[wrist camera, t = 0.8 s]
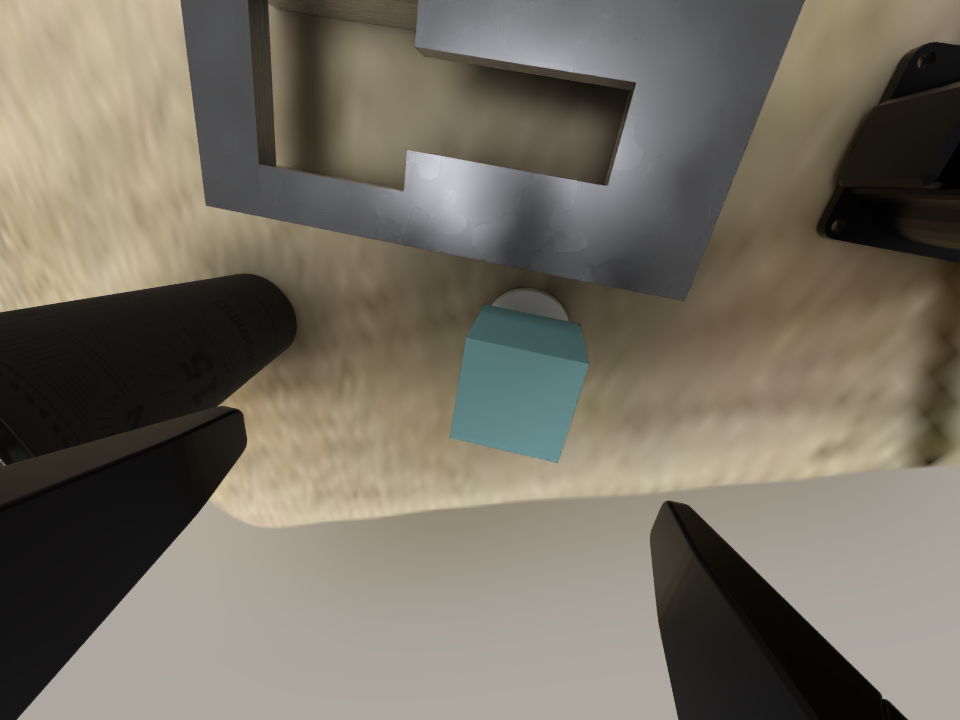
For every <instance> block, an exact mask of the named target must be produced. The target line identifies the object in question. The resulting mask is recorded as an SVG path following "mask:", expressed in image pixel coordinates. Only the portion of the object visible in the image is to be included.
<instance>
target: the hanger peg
mask: <svg viewBox="0 0 960 720" xmlns="http://www.w3.org/2000/svg"><path fill="white" fill-rule="evenodd" d="M588 366H589V361H588V357H587V352H586V348H585V344H584V339H583V335H582V330H581V326H580V324H578V323H573V322H569V320H568V316H567V313H566V311H565V309H564V307H563V306H562V305H561V303H560V302H559V301H558V300H557V299H556V298H555V297H553V296H552V295H550V294H549V293H547V292H545V291H542V290H540V289H536V288H517V289H513V290H510V291H508V292H506V293H504V294H502V295H501V296H499V297H498V298H497V299H496V300H495V301H494V302H493V303H492V304H491V305H487V304H484V305H483V307H482V309H481V311H480V313H479V314H478V316H477V318H476V320H475V322H474V324H473V326H472V327H471V329H470V331H469V333H468V335H467V337H466V341H465V347H464V353H463V360H462V366H461V372H460V378H459V384H458V390H457V397H456V403H455V409H454V415H453V421H452V427H451V434H450V438H453V439H458V440H462V441H466V442H470V443H475V444H479V445H483V446H487V447H492V448H496V449H500V450H504V451H509V452H513V453H517V454H521V455H526V456H530V457H534V458H538V459H543V460H547V461H551V462H555V463H558V461H559V458H560V455H561V452H562V449H563V445H564V442H565V439H566V436H567V433H568V430H569V426H570V423H571V420H572V417H573V414H574V411H575V407H576V404H577V401H578V398H579V395H580V392H581V389H582V385H583V382H584V379H585V376H586V373H587V370H588Z"/></svg>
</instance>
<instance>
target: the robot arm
mask: <svg viewBox="0 0 960 720" xmlns="http://www.w3.org/2000/svg"><path fill="white" fill-rule="evenodd" d="M921 55H924V56H925V58H926V62H925V65H924V66H923V67H922V69H920V68H919V67H918V64H917V63H918V60H919V58H920V57H921ZM839 182H840V184H839V186H838V188H837V190H836V192H835V194H834V196H833V198H832V200H831V202H830V204H829V206H828V208H827V210H826V212H825V213H824V215H823V217H822V219H821V221H820V223H819V227H818V231H819V234H820V235H821V236H823V237H825V238H829V239H835V240H840V241H846V242H851V243H856V244H862V245H867V246H873V247H878V248H884V249H889V250H895V251H900V252H906V253H911V254H916V255H922V256H927V257H933V258H938V259H944V260H949V261H955V262H960V46H959V45H952V44H946V43H939V42H932V43H927V44H925V45H922V46H919V47H917V48H915V49H913V50H911V51H910V52H909V53H908V54H907V55H906V56H905V57H904V59H903V60H902V62H901V64H900V66H899V68H898V70H897V72H896V74H895V76H894V78H893V80H892V82H891V84H890V86H889V88H888V89H887V91H886V93H885V95H884V97H883V99H882V101H881V103H880V105H878V106H877V107H875V108H874V110H873V112H872V114H871V116H870V118H869V119H868V121H867V123H866V125H865V127H864V129H863V131H862V133H861V135H860V137H859V139H858V141H857V143H856V145H855V147H854V149H853V151H852V153H851V155H850V157H849V159H848V161H847V163H846V165H845V167H844V169H843V171H842V173H841V175H840V177H839ZM837 220H839V223H840V224H839V227H838V228H837V229H836V230H835V231H833V232H832V229H831V227H832V224H833V223H834V222H835V221H837ZM246 445H247V435H246V429H245V422H244V416H243V413H242V412H241V411H240V410H239V409H235V408H230V407H226V406H219V407H215V408H212V409H208V410H204V411H201V412H197V413H194V414H190V415H186V416H183V417H179V418H176V419H172V420H168V421H165V422H161V423H158V424H154V425H150V426H147V427H143V428H140V429H136V430H132V431H129V432H125V433H122V434H118V435H114V436H111V437H107V438H104V439H100V440H96V441H93V442H89V443H86V444H82V445H79V446H75V447H71V448H68V449H64V450H61V451H57V452H53V453H50V454H46V455H43V456H39V457H35V458H32V459H28V460H25V461H21V462H17V463H14V464H10V465H7V466H3V467H0V720H17V719H18V718H19V717H20V715H21V714H22V713H23V712H24V711H25V710H26V709H27V707H28V706H29V705H30V704H31V703H32V702H33V701H34V700H35V698H36V697H37V696H38V695H39V694H40V693H41V692H42V690H43V689H44V688H45V687H46V686H47V685H48V683H49V682H50V681H51V680H52V679H53V678H54V677H55V676H56V675H57V673H58V672H59V671H60V670H61V669H62V668H63V667H64V665H65V664H66V663H67V662H68V661H69V660H70V658H71V657H72V656H73V655H74V654H75V653H76V652H77V651H78V649H79V648H80V647H81V646H82V645H83V644H84V643H85V642H86V640H87V639H88V638H89V637H90V636H91V635H92V634H93V632H94V631H95V630H96V629H97V627H99V626H100V624H101V623H102V622H103V621H104V620H105V619H106V618H107V616H108V615H109V614H110V613H111V612H112V611H113V610H114V609H115V607H116V606H117V605H118V604H119V603H120V601H122V599H123V598H124V597H125V596H126V595H127V593H129V591H130V590H131V589H132V588H133V587H134V586H135V584H137V582H138V581H139V580H140V579H141V578H142V577H143V576H144V574H145V573H146V572H147V571H148V570H149V569H150V568H151V566H152V565H153V564H154V563H155V562H156V561H157V560H158V558H159V557H160V556H161V555H162V554H163V552H165V550H166V549H167V548H168V547H169V546H170V545H171V544H172V542H173V541H174V540H175V539H176V538H177V537H178V536H179V534H180V533H181V532H182V531H183V530H184V529H185V528H186V527H187V525H188V524H189V523H190V522H191V521H192V519H193V518H194V517H195V516H196V515H197V514H198V513H199V511H200V510H201V509H202V507H203V506H204V505H205V504H206V502H207V501H208V500H209V498H210V497H211V496H212V494H213V493H214V492H215V490H216V489H217V487H218V486H219V485H220V483H221V482H222V481H223V479H224V478H225V476H226V475H227V474H228V472H229V471H230V470H231V468H232V467H233V466H234V464H235V463H236V461H237V460H238V459H239V457H240V456H241V455H242V453H243V452H244V450H245V448H246ZM650 547H651V557H652V567H653V576H654V587H655V597H656V606H657V614H658V623H659V628H660V633H661V638H662V643H663V648H664V653H665V658H666V662H667V667H668V672H669V677H670V682H671V686H672V691H673V696H674V701H675V705H676V710H677V715H678V720H908V719H907V718H906V717H905V716H904V715H903V714H902V713H901V712H900V711H899V710H898V709H897V708H895V706H894V705H892V704H891V703H890V702H889V701H888V700H886V699H882V695H881V693H880V692H879V691H878V690H877V689H876V688H875V687H874V686H873V685H872V684H871V683H870V682H869V681H868V680H867V679H866V678H865V677H864V676H863V675H862V674H861V673H860V672H859V671H858V670H856V669H855V668H854V667H853V666H852V665H851V664H850V663H849V662H848V661H847V660H846V659H845V658H844V657H843V656H842V655H841V654H840V653H839V652H838V651H837V650H836V649H835V648H834V647H833V646H832V645H831V644H830V643H829V642H828V641H827V640H826V639H825V638H824V637H823V636H822V635H821V634H819V632H818V631H817V630H816V629H815V628H814V627H813V626H812V625H811V624H810V623H809V622H808V621H806V620H805V619H804V618H803V617H802V616H801V615H800V614H799V613H798V612H797V611H796V610H795V609H794V608H793V607H792V606H791V605H790V604H789V603H788V602H787V601H786V600H785V599H784V598H783V597H782V596H781V595H780V594H779V593H778V592H777V591H776V590H775V589H774V588H773V587H772V586H771V585H770V584H769V583H768V582H767V581H766V580H765V579H764V578H763V577H762V576H760V574H758V573H757V572H756V571H755V570H754V569H753V568H752V567H751V566H750V565H749V564H748V563H747V562H746V561H745V560H744V559H743V558H742V557H741V556H740V555H739V554H738V553H737V552H736V551H735V550H734V549H733V548H732V547H731V546H730V545H729V544H728V543H727V542H726V541H725V540H724V539H723V538H722V537H721V536H720V535H719V534H717V532H716V531H715V530H714V529H712V527H710V526H709V525H708V524H707V523H706V522H705V521H704V520H703V519H702V518H701V517H700V516H699V515H698V514H697V513H696V512H695V511H694V510H693V509H692V508H691V507H690V506H688V505H687V504H683V503H679V502H674V501H666V502H664V503H663V504H662V506H661V508H660V511H659V513H658V516H657V518H656V520H655V522H654V525H653V527H652V530H651V533H650Z"/></svg>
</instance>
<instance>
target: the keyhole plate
mask: <svg viewBox="0 0 960 720" xmlns="http://www.w3.org/2000/svg"><path fill="white" fill-rule="evenodd" d="M804 1H805V0H181V8H182V16H183V24H184V32H185V40H186V48H187V56H188V64H189V72H190V81H191V89H192V97H193V105H194V113H195V121H196V129H197V137H198V145H199V153H200V161H201V169H202V177H203V186H204V194H205V202H206V206H211V207H216V208H221V209H226V210H231V211H236V212H241V213H246V214H251V215H256V216H261V217H266V218H271V219H276V220H281V221H286V222H291V223H296V224H301V225H306V226H311V227H316V228H321V229H326V230H331V231H336V232H341V233H346V234H351V235H356V236H361V237H366V238H371V239H376V240H381V241H386V242H391V243H396V244H401V245H406V246H411V247H416V248H421V249H426V250H431V251H436V252H441V253H446V254H451V255H456V256H461V257H466V258H471V259H476V260H481V261H486V262H491V263H496V264H501V265H506V266H511V267H516V268H521V269H526V270H531V271H536V272H541V273H546V274H551V275H556V276H561V277H566V278H571V279H576V280H581V281H586V282H591V283H596V284H601V285H606V286H611V287H616V288H621V289H626V290H631V291H636V292H641V293H646V294H651V295H656V296H661V297H666V298H671V299H676V300H681V301H685V298H686V296H687V293H688V291H689V288H690V286H691V283H692V281H693V278H694V276H695V273H696V271H697V268H698V266H699V263H700V261H701V258H702V256H703V253H704V251H705V248H706V246H707V243H708V241H709V238H710V236H711V233H712V231H713V228H714V226H715V223H716V221H717V218H718V216H719V213H720V211H721V208H722V206H723V203H724V201H725V198H726V196H727V193H728V191H729V188H730V186H731V183H732V181H733V178H734V176H735V173H736V171H737V168H738V166H739V163H740V161H741V158H742V156H743V153H744V151H745V148H746V146H747V143H748V141H749V138H750V136H751V133H752V131H753V128H754V126H755V123H756V121H757V118H758V116H759V113H760V111H761V108H762V106H763V103H764V101H765V98H766V96H767V93H768V91H769V88H770V86H771V83H772V81H773V79H774V76H775V74H776V71H777V69H778V66H779V64H780V61H781V59H782V56H783V54H784V51H785V49H786V46H787V44H788V41H789V39H790V36H791V34H792V31H793V29H794V26H795V24H796V21H797V19H798V16H799V14H800V11H801V9H802V6H803V4H804ZM268 4H270V5H271V6H273V7H275V8H276V9H281V10H287V11H293V12H300V13H306V14H312V15H319V16H325V17H331V18H338V19H344V20H350V21H357V22H363V23H369V24H376V25H382V26H388V27H395V28H401V29H407V30H414V31H416V38H415V47H416V49H417V50H418V51H419V52H420V53H421V54H422V55H423V56H424V57H430V58H437V59H443V60H449V61H455V62H461V63H467V64H473V65H480V66H486V67H492V68H498V69H504V70H510V71H517V72H523V73H529V74H535V75H541V76H547V77H553V78H560V79H566V80H572V81H578V82H584V83H590V84H597V85H603V86H609V87H615V88H621V89H627V90H630V92H629V96H628V99H627V103H626V107H625V110H624V114H623V118H622V121H621V125H620V129H619V132H618V136H617V139H616V143H615V147H614V150H613V154H612V158H611V161H610V165H609V169H608V172H607V176H606V180H605V183H604V185H598V184H593V183H587V182H581V181H576V180H570V179H565V178H559V177H554V176H548V175H543V174H537V173H532V172H526V171H521V170H515V169H510V168H504V167H499V166H493V165H488V164H482V163H477V162H471V161H466V160H460V159H455V158H449V157H444V156H438V155H432V154H427V153H421V152H416V151H410V150H407V157H406V170H405V183H404V190H403V189H398V188H393V187H388V186H382V185H377V184H372V183H366V182H361V181H356V180H351V179H345V178H340V177H335V176H329V175H324V174H319V173H313V172H308V171H303V170H298V169H292V168H287V167H282V166H276V152H275V132H274V112H273V92H272V72H271V52H270V33H269V13H268Z"/></svg>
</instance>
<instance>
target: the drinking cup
mask: <svg viewBox="0 0 960 720" xmlns="http://www.w3.org/2000/svg"><path fill="white" fill-rule="evenodd" d="M295 333H296V319H295V315H294V311H293V309H292V306H291V305H290V303H289V301H288V299H287V298H286V296H285V295H284V294H283V293H282V292H281V291H280V290H279V289H278V288H277V287H276V286H275V285H274V284H272V283H271V282H269V281H268V280H266V279H264V278H262V277H259V276H256V275H252V274H236V275H230V276H224V277H218V278H212V279H205V280H199V281H193V282H187V283H180V284H174V285H168V286H162V287H156V288H149V289H143V290H137V291H131V292H124V293H118V294H112V295H106V296H100V297H93V298H87V299H81V300H75V301H68V302H62V303H56V304H50V305H44V306H37V307H31V308H25V309H19V310H12V311H6V312H0V467H3V466H7V465H10V464H14V463H17V462H21V461H25V460H28V459H32V458H35V457H39V456H43V455H46V454H50V453H53V452H57V451H61V450H64V449H68V448H71V447H75V446H79V445H82V444H86V443H89V442H93V441H96V440H100V439H104V438H107V437H111V436H114V435H118V434H122V433H125V432H129V431H132V430H136V429H140V428H143V427H147V426H150V425H154V424H158V423H161V422H165V421H168V420H172V419H176V418H179V417H183V416H186V415H190V414H194V413H197V412H201V411H204V410H208V409H212V408H215V407H217V406H218V405H220V404H221V403H222V402H223V401H224V400H226V399H227V398H228V397H229V396H230V395H232V394H233V393H234V392H235V391H236V390H238V389H239V388H240V387H241V386H242V385H244V384H245V383H246V382H247V381H248V380H250V379H251V378H252V377H253V376H254V375H256V374H257V373H258V372H259V371H260V370H262V369H263V368H264V367H265V366H266V365H268V364H269V363H270V362H271V361H273V360H274V359H275V358H276V357H277V356H279V355H280V354H281V353H282V352H283V351H285V350H286V349H287V348H288V347H289V346H290V344H291V343H292V341H293V339H294V337H295Z"/></svg>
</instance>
